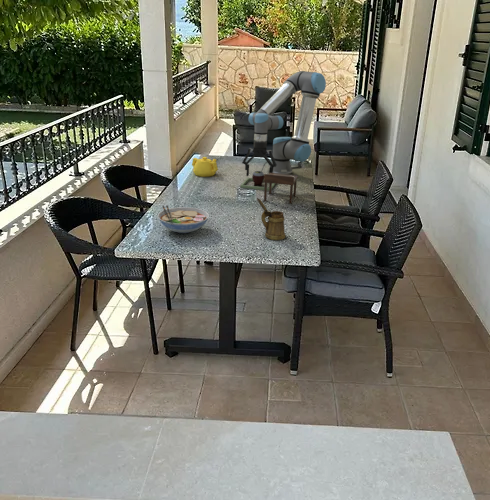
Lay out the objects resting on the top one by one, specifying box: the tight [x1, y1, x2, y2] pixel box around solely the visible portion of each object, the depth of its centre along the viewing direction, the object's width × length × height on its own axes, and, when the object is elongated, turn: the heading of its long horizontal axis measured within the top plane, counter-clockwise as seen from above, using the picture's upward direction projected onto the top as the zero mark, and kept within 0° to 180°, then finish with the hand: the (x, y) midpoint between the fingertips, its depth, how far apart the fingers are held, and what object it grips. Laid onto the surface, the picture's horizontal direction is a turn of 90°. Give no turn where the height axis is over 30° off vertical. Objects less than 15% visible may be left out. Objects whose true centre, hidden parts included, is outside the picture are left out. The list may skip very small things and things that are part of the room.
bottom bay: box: [240, 177, 276, 192], centre depth 302 cm, size 18×18×2 cm
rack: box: [263, 172, 299, 205], centre depth 277 cm, size 16×16×15 cm
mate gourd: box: [251, 161, 268, 187], centre depth 300 cm, size 8×8×15 cm
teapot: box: [191, 156, 219, 178], centre depth 319 cm, size 20×18×11 cm
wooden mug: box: [256, 197, 286, 241], centre depth 223 cm, size 9×14×18 cm, turn 94°
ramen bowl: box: [157, 204, 210, 234], centre depth 227 cm, size 25×23×8 cm
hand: (258, 176), depth 300 cm, fingers open, 13 cm apart
